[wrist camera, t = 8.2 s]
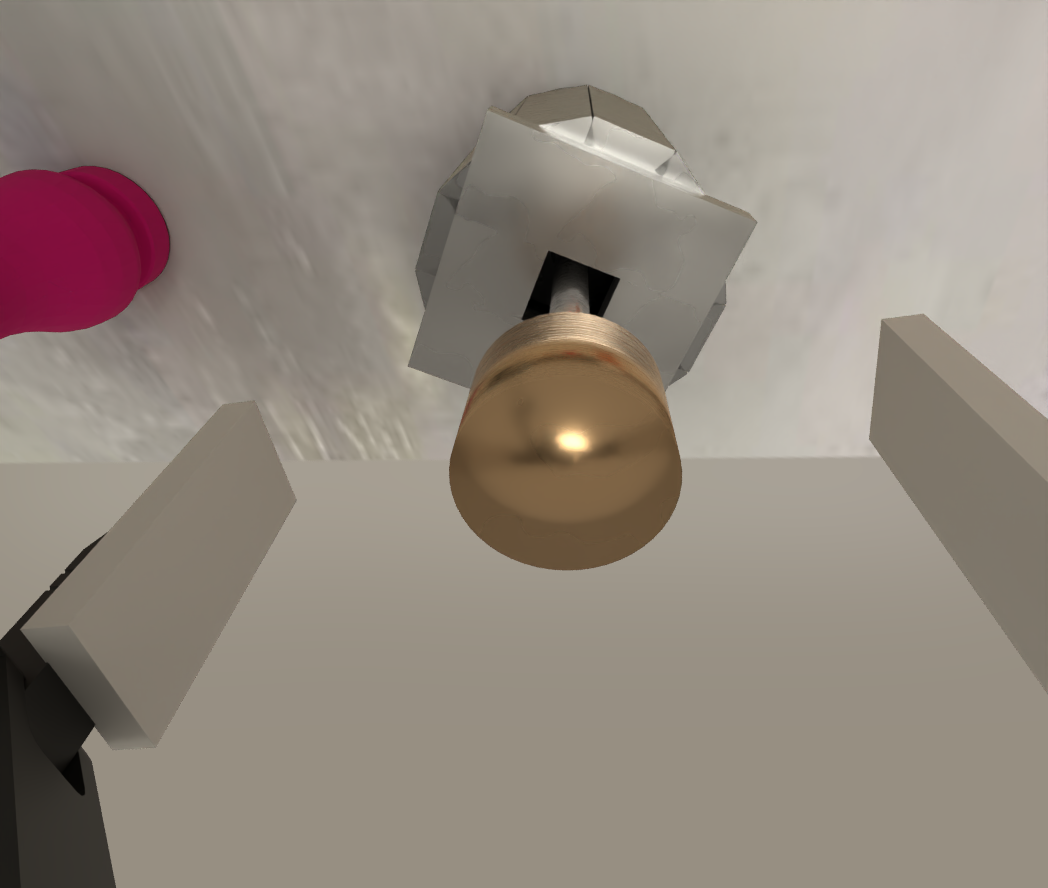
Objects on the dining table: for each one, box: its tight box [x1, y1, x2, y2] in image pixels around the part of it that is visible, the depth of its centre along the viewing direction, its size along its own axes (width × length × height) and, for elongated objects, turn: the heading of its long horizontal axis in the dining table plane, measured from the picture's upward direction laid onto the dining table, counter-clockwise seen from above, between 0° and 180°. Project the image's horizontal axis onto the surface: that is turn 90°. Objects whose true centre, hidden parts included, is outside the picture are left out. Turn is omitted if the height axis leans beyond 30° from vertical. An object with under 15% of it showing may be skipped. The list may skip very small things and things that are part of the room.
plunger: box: [449, 250, 682, 570], centre depth 22 cm, size 7×7×20 cm
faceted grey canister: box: [408, 85, 757, 391], centre depth 29 cm, size 10×13×14 cm
